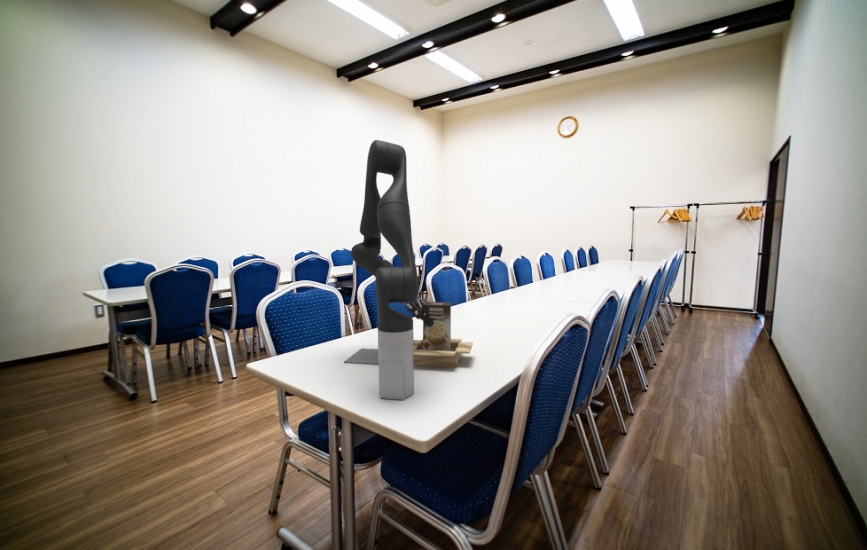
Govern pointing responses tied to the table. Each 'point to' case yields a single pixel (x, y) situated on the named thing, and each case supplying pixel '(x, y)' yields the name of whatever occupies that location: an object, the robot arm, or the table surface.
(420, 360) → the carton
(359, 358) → the mat
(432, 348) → the coffee box
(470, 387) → the table surface
